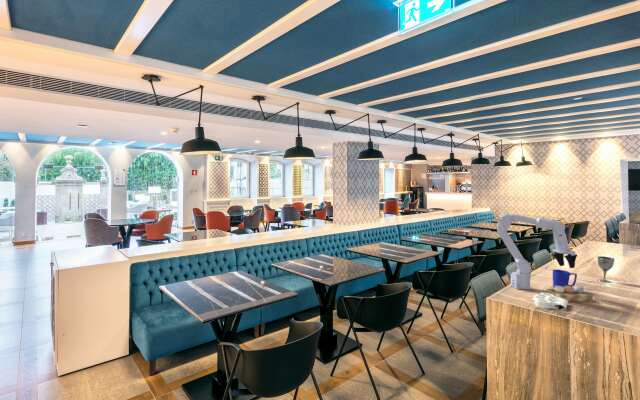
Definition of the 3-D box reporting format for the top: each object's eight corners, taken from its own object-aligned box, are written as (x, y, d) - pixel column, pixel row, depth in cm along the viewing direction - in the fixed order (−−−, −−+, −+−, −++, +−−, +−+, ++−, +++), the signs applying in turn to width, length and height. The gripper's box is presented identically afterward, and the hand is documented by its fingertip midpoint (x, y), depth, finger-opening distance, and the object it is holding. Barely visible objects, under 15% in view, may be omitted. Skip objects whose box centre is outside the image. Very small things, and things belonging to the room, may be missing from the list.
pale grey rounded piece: (557, 293, 172) (558, 287, 171) (552, 291, 176) (552, 285, 175) (565, 294, 172) (565, 288, 171) (559, 291, 176) (560, 285, 175)
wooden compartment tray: (559, 300, 169) (559, 294, 169) (545, 294, 179) (546, 288, 179) (592, 301, 169) (592, 295, 168) (576, 294, 179) (577, 289, 178)
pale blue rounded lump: (577, 294, 172) (578, 288, 171) (571, 291, 176) (572, 285, 175) (585, 294, 172) (585, 288, 171) (579, 292, 176) (579, 286, 175)
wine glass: (599, 281, 205) (600, 258, 205) (594, 278, 213) (595, 255, 212) (615, 283, 202) (616, 259, 202) (609, 280, 210) (611, 257, 209)
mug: (579, 291, 184) (580, 274, 184) (555, 289, 187) (556, 272, 186) (571, 287, 192) (572, 270, 192) (548, 285, 195) (549, 268, 194)
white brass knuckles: (564, 314, 152) (527, 305, 162) (568, 303, 166) (534, 296, 175) (565, 306, 152) (528, 298, 162) (568, 297, 165) (534, 290, 175)
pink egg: (567, 294, 172) (568, 288, 171) (562, 291, 176) (562, 285, 175) (575, 294, 172) (575, 288, 171) (569, 291, 176) (569, 285, 175)
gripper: (578, 241, 174) (584, 267, 173) (558, 240, 188) (564, 263, 187) (565, 244, 174) (571, 269, 173) (546, 242, 188) (552, 266, 187)
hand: (567, 266), depth 180 cm, fingers open, 7 cm apart
